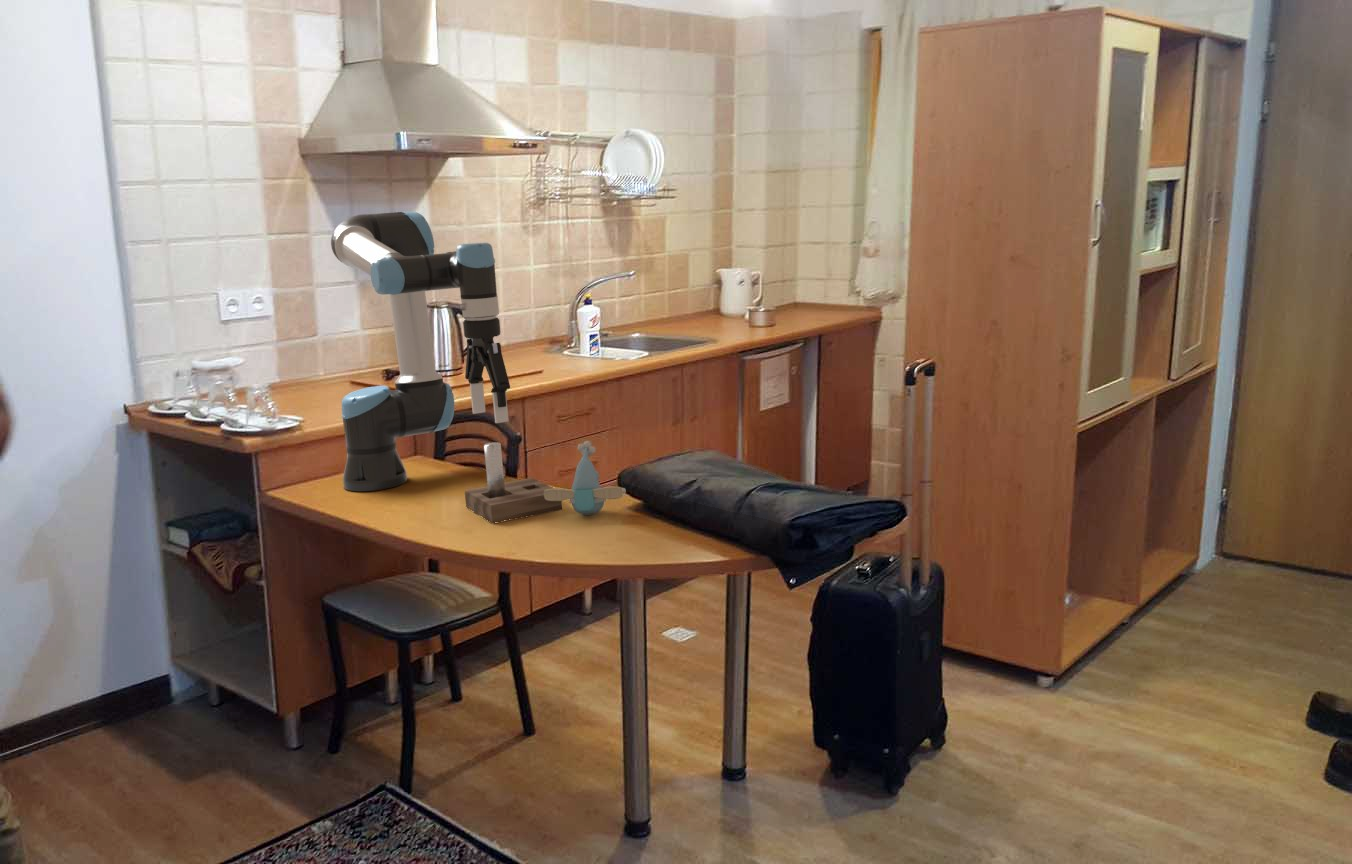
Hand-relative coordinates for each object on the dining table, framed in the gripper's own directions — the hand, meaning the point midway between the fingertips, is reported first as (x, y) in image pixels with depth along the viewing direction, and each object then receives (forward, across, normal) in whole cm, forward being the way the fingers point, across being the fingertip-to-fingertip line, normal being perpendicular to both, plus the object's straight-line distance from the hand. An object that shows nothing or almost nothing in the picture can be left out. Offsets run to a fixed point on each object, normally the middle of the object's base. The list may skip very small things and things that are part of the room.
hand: (490, 417), depth 236 cm
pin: (+20, 0, 0) cm, 20 cm away
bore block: (+21, 0, +3) cm, 21 cm away
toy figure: (+21, +15, +14) cm, 30 cm away
